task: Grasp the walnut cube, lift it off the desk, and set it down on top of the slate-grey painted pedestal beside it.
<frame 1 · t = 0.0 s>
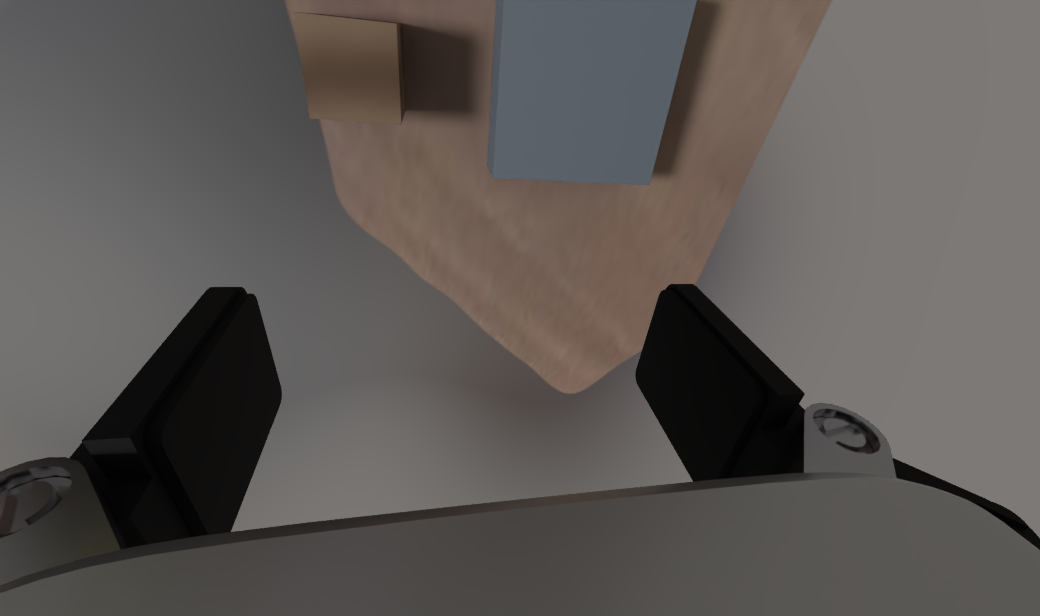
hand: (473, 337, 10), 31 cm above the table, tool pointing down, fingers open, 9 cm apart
walnut cube: (363, 65, 33), on the table
pedestal: (574, 84, 37), on the table
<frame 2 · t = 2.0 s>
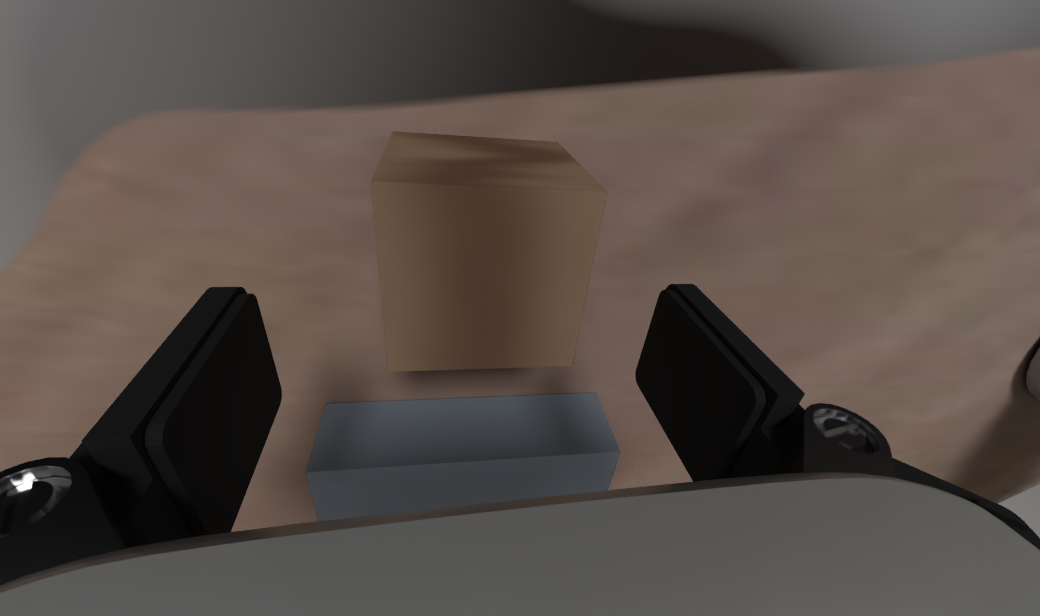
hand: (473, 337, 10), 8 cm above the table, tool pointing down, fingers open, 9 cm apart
walnut cube: (475, 214, 18), on the table
pedestal: (465, 481, 26), on the table
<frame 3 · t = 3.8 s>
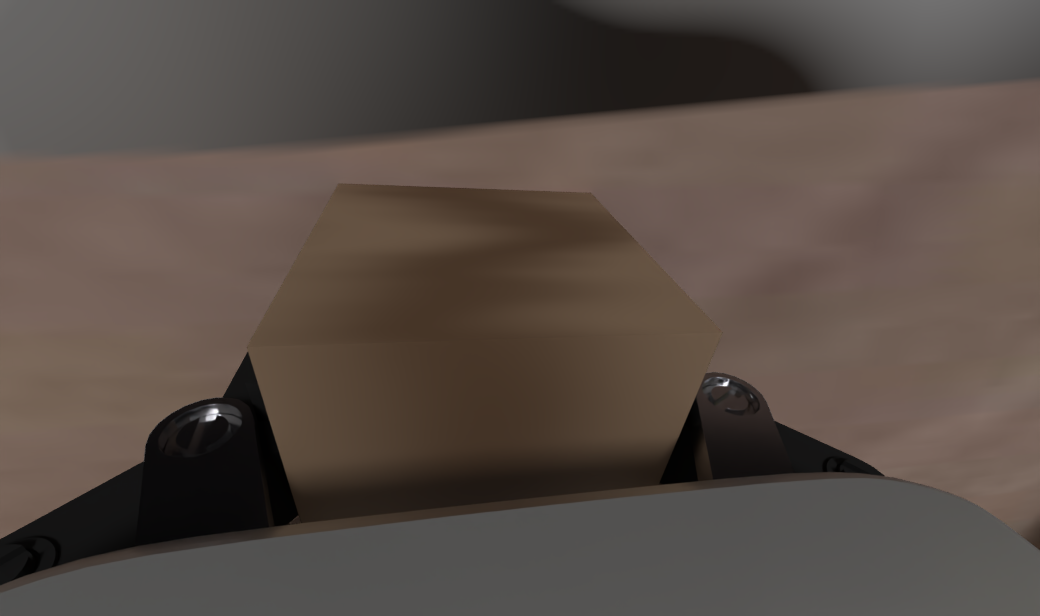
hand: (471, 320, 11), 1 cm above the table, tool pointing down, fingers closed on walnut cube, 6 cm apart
walnut cube: (468, 295, 12), on the table, touching gripper
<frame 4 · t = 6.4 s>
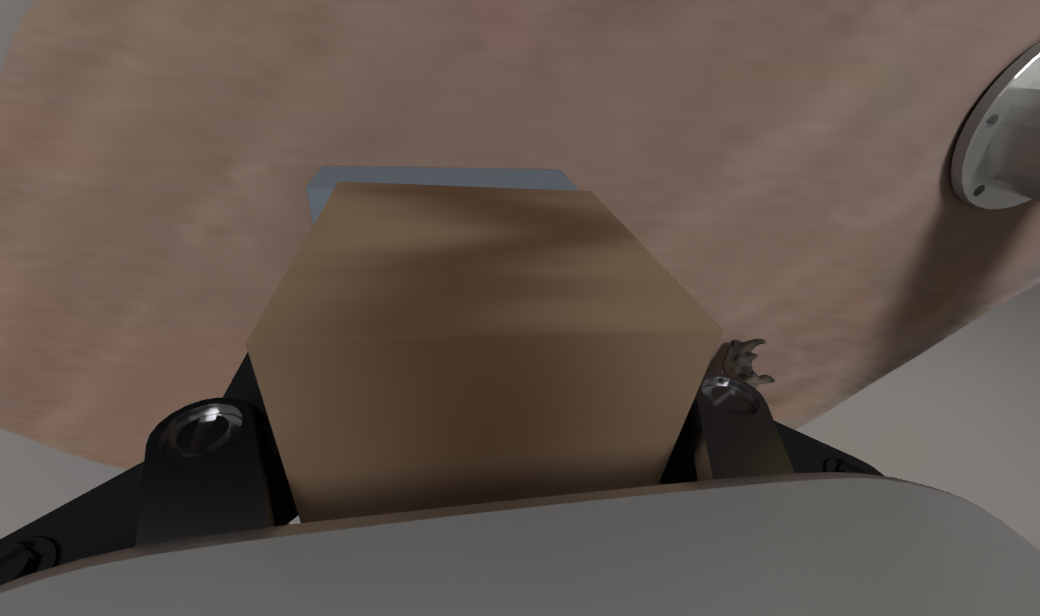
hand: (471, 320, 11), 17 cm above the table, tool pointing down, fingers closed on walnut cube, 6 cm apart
walnut cube: (468, 294, 12), point 16 cm above the table, touching gripper
pedestal: (449, 271, 30), on the table
rhino figurine: (693, 375, 40), on the table
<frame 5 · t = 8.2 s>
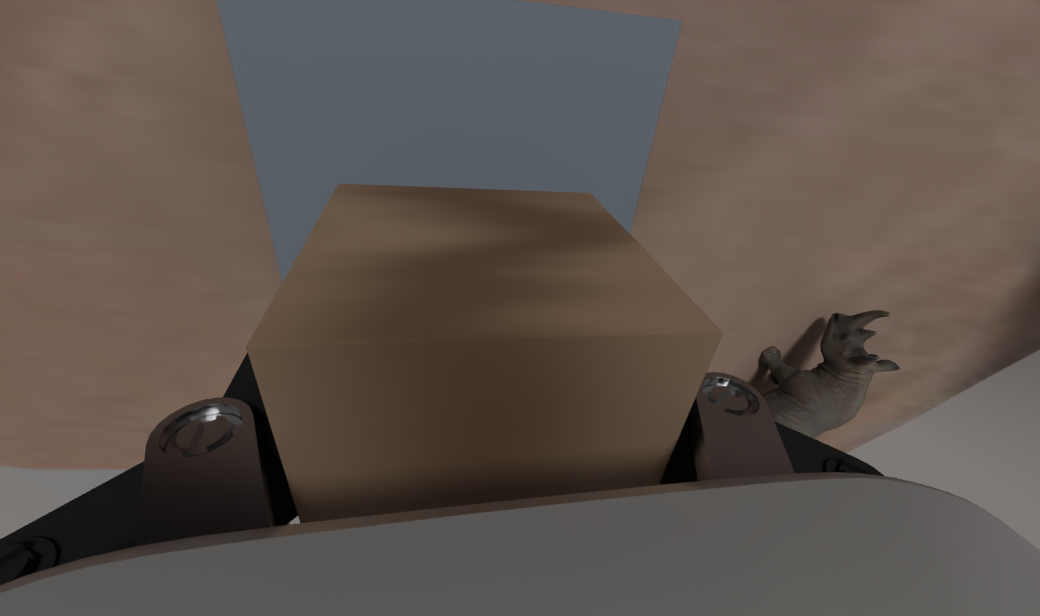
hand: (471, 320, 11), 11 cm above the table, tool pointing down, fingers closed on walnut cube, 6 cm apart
walnut cube: (468, 295, 12), point 10 cm above the table, touching gripper
pedestal: (458, 184, 20), on the table
rhino figurine: (769, 361, 31), on the table
when the fingers open (6 cm above the table, at t = 9.9 s): walnut cube drops 1 cm, resting on pedestal.
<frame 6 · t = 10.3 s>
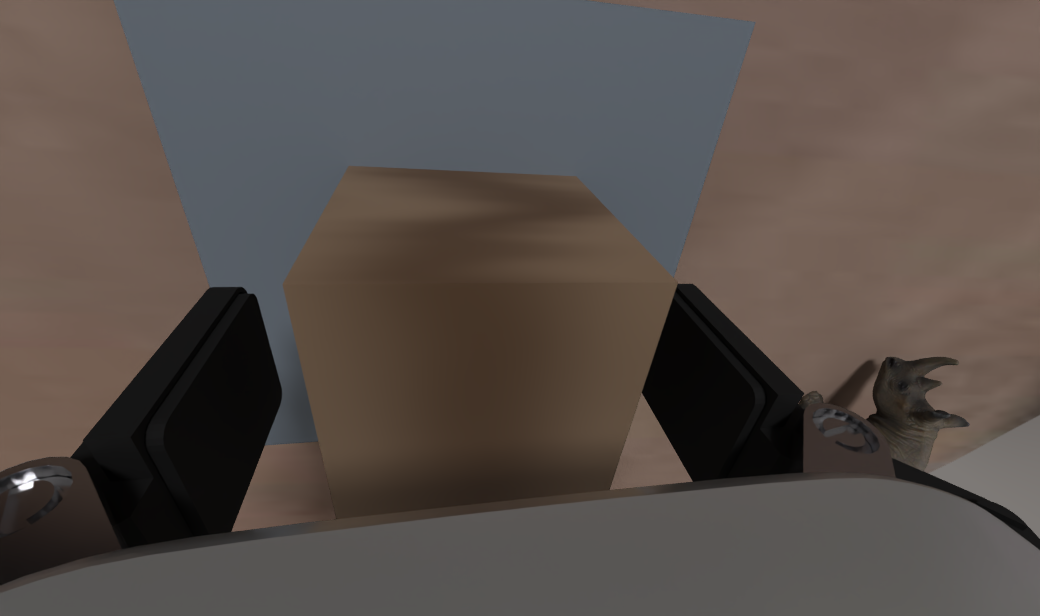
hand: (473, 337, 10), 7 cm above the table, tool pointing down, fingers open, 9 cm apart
walnut cube: (465, 271, 13), point 4 cm above the table, touching pedestal
pedestal: (457, 222, 16), on the table
rhino figurine: (808, 406, 27), on the table
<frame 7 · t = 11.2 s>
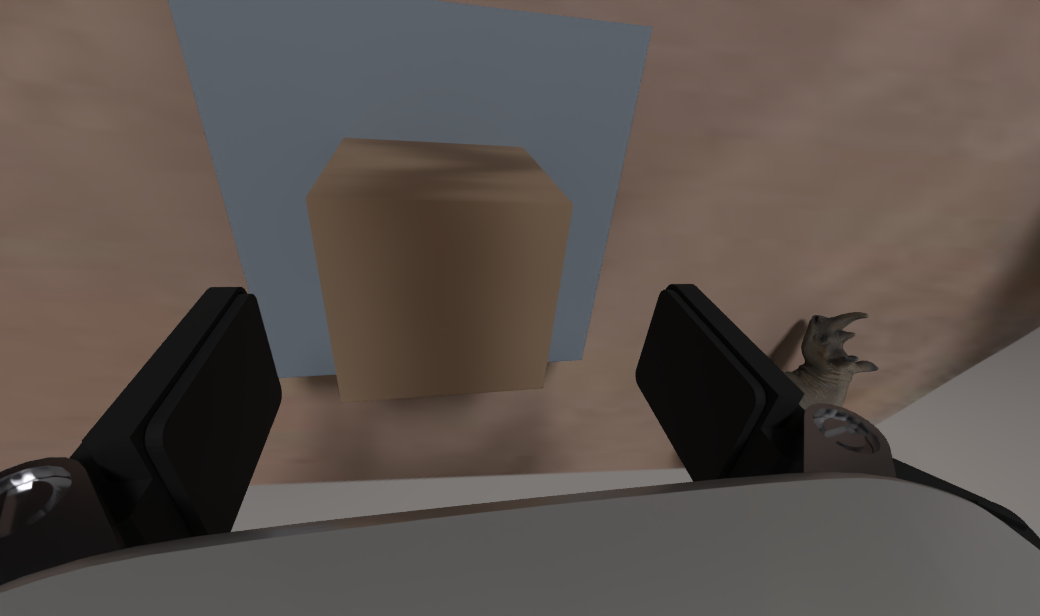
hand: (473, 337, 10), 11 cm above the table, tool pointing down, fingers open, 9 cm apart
walnut cube: (437, 225, 16), point 4 cm above the table, touching pedestal
pedestal: (433, 192, 20), on the table
rhino figurine: (752, 363, 31), on the table
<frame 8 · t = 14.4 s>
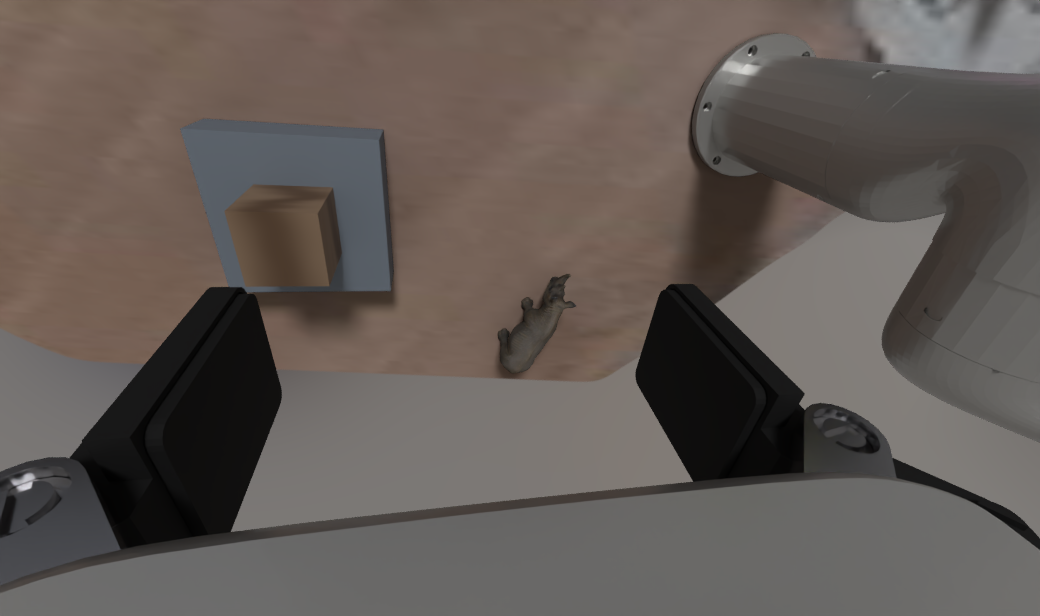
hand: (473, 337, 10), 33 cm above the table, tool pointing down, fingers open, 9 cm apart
walnut cube: (300, 220, 37), point 4 cm above the table, touching pedestal
pedestal: (310, 204, 40), on the table
rhino figurine: (531, 308, 51), on the table
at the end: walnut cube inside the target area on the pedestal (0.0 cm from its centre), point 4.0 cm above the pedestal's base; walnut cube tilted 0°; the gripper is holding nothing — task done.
